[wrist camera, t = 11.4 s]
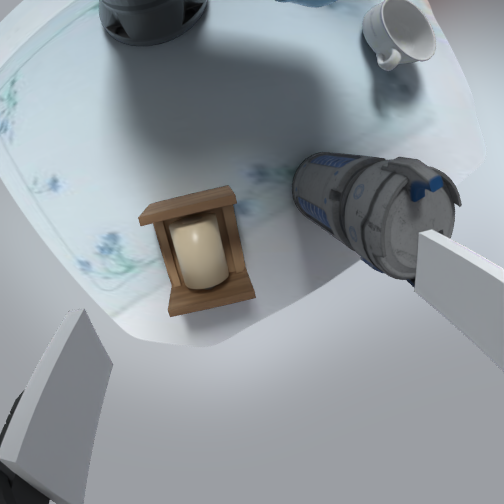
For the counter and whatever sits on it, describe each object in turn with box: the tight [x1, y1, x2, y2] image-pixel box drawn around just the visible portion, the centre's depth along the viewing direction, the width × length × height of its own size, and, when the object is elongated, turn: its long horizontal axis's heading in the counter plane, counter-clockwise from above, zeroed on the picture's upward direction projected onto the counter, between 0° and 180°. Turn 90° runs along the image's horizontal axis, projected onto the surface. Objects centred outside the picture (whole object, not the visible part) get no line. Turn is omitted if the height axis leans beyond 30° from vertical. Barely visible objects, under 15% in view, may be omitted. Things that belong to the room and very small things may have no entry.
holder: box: [138, 185, 256, 317], centre depth 37 cm, size 13×11×8 cm
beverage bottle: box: [292, 152, 461, 288], centre depth 30 cm, size 10×13×25 cm
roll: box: [169, 213, 229, 289], centre depth 38 cm, size 8×6×6 cm
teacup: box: [362, 0, 436, 71], centre depth 31 cm, size 14×11×8 cm
